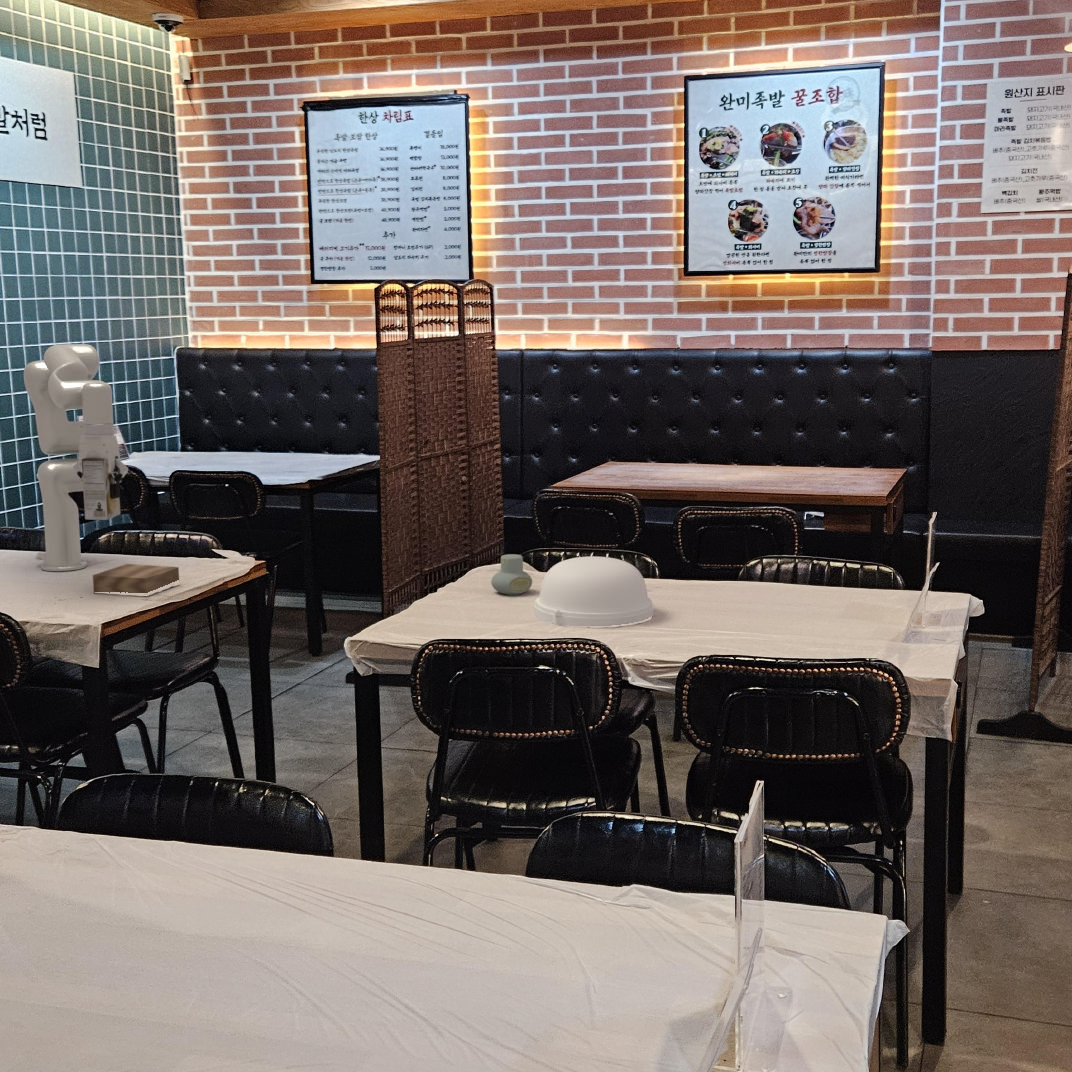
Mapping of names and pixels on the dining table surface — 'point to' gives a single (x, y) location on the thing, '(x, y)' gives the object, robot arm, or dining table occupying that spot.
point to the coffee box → (98, 490)
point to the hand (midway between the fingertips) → (102, 496)
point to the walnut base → (134, 578)
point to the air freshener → (511, 576)
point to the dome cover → (593, 593)
